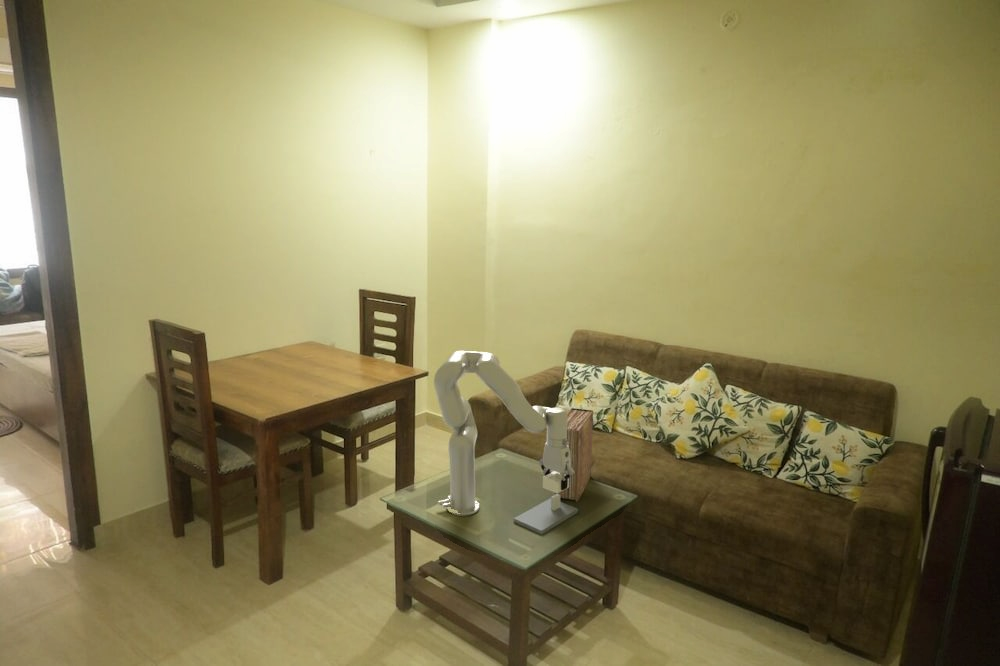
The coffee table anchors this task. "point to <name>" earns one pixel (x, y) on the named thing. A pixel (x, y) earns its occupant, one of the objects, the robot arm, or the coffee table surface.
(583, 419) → the book
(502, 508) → the coffee table surface
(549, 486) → the collar
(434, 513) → the coffee table surface
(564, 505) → the grey flat piece
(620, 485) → the coffee table surface
